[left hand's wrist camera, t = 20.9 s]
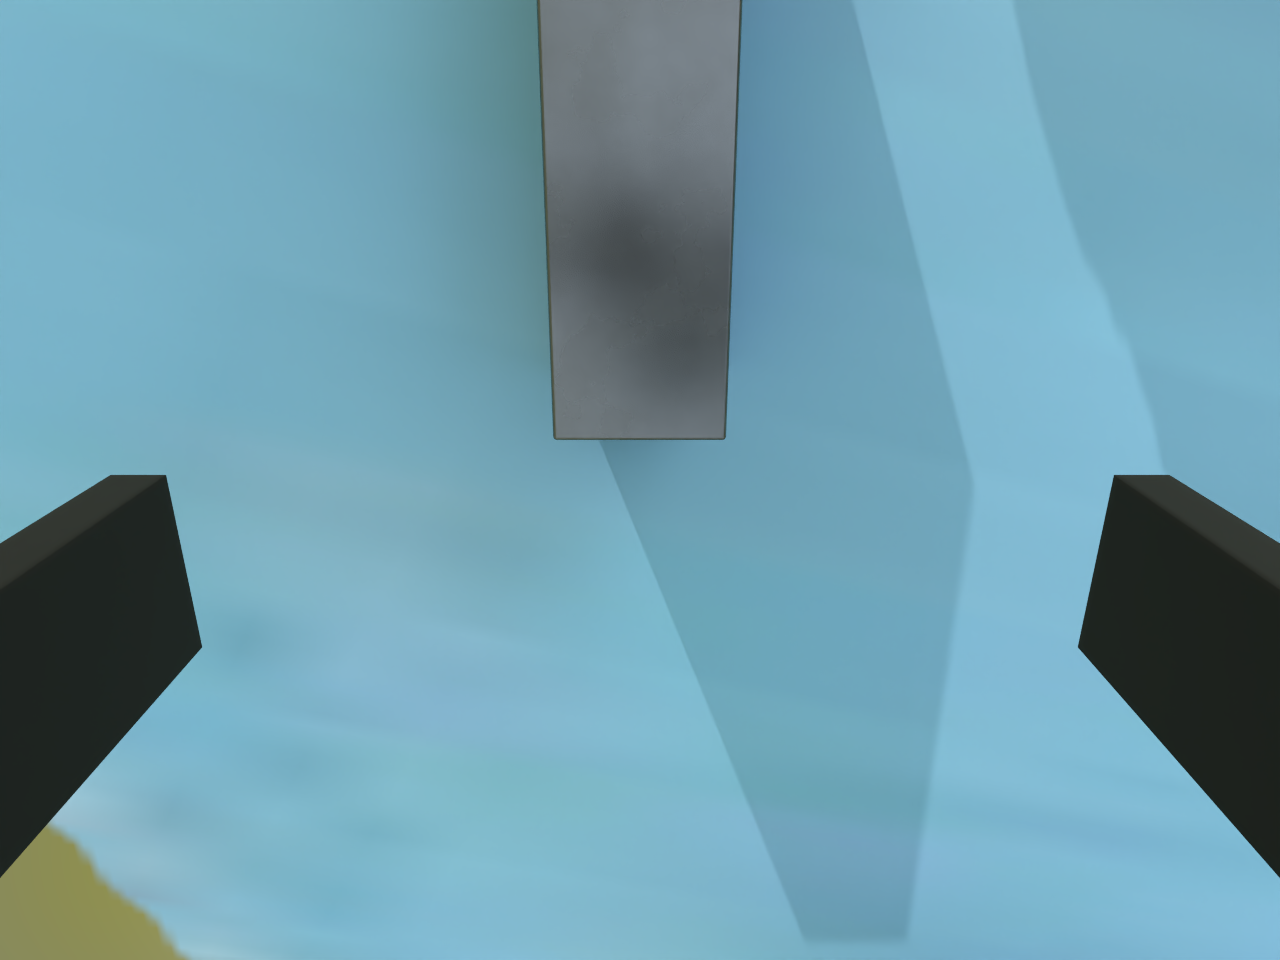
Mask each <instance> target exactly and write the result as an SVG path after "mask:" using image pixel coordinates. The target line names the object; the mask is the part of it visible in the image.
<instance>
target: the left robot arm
mask: <svg viewBox="0 0 1280 960" xmlns="http://www.w3.org/2000/svg"><path fill="white" fill-rule="evenodd" d="M201 648H202V644H201V640H200V635H199V630H198V625H197V620H196V616H195V611H194V606H193V601H192V597H191V592H190V587H189V582H188V578H187V573H186V568H185V563H184V559H183V554H182V549H181V544H180V540H179V535H178V530H177V525H176V521H175V516H174V511H173V506H172V502H171V497H170V492H169V487H168V483H167V478H166V475H110V476H108V477H107V478H105V479H103V480H102V481H100V482H99V483H97V484H95V485H94V486H92V487H91V488H89V489H87V490H86V491H84V492H82V493H81V494H79V495H78V496H76V497H74V498H73V499H71V500H70V501H68V502H66V503H65V504H63V505H62V506H60V507H58V508H57V509H55V510H53V511H52V512H50V513H49V514H47V515H45V516H44V517H42V518H41V519H39V520H37V521H36V522H34V523H32V524H31V525H29V526H28V527H26V528H24V529H23V530H21V531H20V532H18V533H16V534H15V535H13V536H11V537H10V538H8V539H7V540H5V541H3V542H2V543H0V877H1V876H2V875H3V874H4V873H5V872H6V871H7V869H8V868H9V867H10V866H11V865H12V864H13V863H14V861H15V860H16V859H17V858H18V857H19V856H20V855H21V853H22V852H23V851H24V850H25V849H26V848H27V846H28V845H29V844H30V843H31V842H32V841H33V840H34V839H35V837H36V836H37V835H38V834H39V833H40V832H41V831H42V829H43V828H44V827H45V826H46V825H47V824H48V823H49V821H50V820H51V819H52V818H53V817H54V816H55V815H56V813H57V812H58V811H59V810H60V809H61V808H62V807H63V805H64V804H65V803H66V802H67V801H68V800H69V799H70V797H71V796H72V795H73V794H74V793H75V792H76V791H77V789H78V788H79V787H80V786H81V785H82V784H83V783H84V781H85V780H86V779H87V778H88V777H89V776H90V775H91V773H92V772H93V771H94V770H95V769H96V768H97V767H98V765H99V764H100V763H101V762H102V761H103V760H104V759H105V757H106V756H107V755H108V754H109V753H110V752H111V751H112V749H113V748H114V747H115V746H116V745H117V744H118V743H119V741H120V740H121V739H122V738H123V737H124V736H125V735H126V733H127V732H128V731H129V730H130V729H131V728H132V727H133V725H134V724H135V723H136V722H137V721H138V720H139V719H140V717H141V716H142V715H143V714H144V713H145V712H146V711H147V710H148V708H149V707H150V706H151V705H152V704H153V703H154V702H155V700H156V699H157V698H158V697H159V696H160V695H161V694H162V692H163V691H164V690H165V689H166V688H167V687H168V686H169V684H170V683H171V682H172V681H173V680H174V679H175V678H176V676H177V675H178V674H179V673H180V672H181V671H182V670H183V668H184V667H185V666H186V665H187V664H188V663H189V662H190V660H191V659H192V658H193V657H194V656H195V655H196V654H197V652H198V651H199V650H200V649H201ZM1078 648H1079V649H1080V650H1081V651H1082V652H1083V654H1084V655H1085V656H1086V657H1087V658H1088V659H1089V660H1090V662H1091V663H1092V664H1093V665H1094V666H1095V667H1096V668H1097V670H1098V671H1099V672H1100V673H1101V674H1102V675H1103V676H1104V678H1105V679H1106V680H1107V681H1108V682H1109V683H1110V684H1111V686H1112V687H1113V688H1114V689H1115V690H1116V691H1117V692H1118V694H1119V695H1120V696H1121V697H1122V698H1123V699H1124V700H1125V702H1126V703H1127V704H1128V705H1129V706H1130V707H1131V708H1132V710H1133V711H1134V712H1135V713H1136V714H1137V715H1138V716H1139V718H1140V719H1141V720H1142V721H1143V722H1144V723H1145V724H1146V725H1147V727H1148V728H1149V729H1150V730H1151V731H1152V732H1153V733H1154V735H1155V736H1156V737H1157V738H1158V739H1159V740H1160V741H1161V743H1162V744H1163V745H1164V746H1165V747H1166V748H1167V749H1168V751H1169V752H1170V753H1171V754H1172V755H1173V756H1174V757H1175V759H1176V760H1177V761H1178V762H1179V763H1180V764H1181V765H1182V767H1183V768H1184V769H1185V770H1186V771H1187V772H1188V773H1189V775H1190V776H1191V777H1192V778H1193V779H1194V780H1195V781H1196V783H1197V784H1198V785H1199V786H1200V787H1201V788H1202V789H1203V791H1204V792H1205V793H1206V794H1207V795H1208V796H1209V797H1210V799H1211V800H1212V801H1213V802H1214V803H1215V804H1216V805H1217V807H1218V808H1219V809H1220V810H1221V811H1222V812H1223V813H1224V815H1225V816H1226V817H1227V818H1228V819H1229V820H1230V821H1231V823H1232V824H1233V825H1234V826H1235V827H1236V828H1237V829H1238V831H1239V832H1240V833H1241V834H1242V835H1243V836H1244V837H1245V839H1246V840H1247V841H1248V842H1249V843H1250V844H1251V845H1252V847H1253V848H1254V849H1255V850H1256V851H1257V852H1258V853H1259V855H1260V856H1261V857H1262V858H1263V859H1264V860H1265V861H1266V863H1267V864H1268V865H1269V866H1270V867H1271V868H1272V869H1273V871H1274V872H1275V873H1276V874H1277V875H1278V876H1279V877H1280V543H1278V542H1277V541H1275V540H1273V539H1272V538H1270V537H1269V536H1267V535H1265V534H1264V533H1262V532H1260V531H1259V530H1257V529H1256V528H1254V527H1252V526H1251V525H1249V524H1248V523H1246V522H1244V521H1243V520H1241V519H1239V518H1238V517H1236V516H1235V515H1233V514H1231V513H1230V512H1228V511H1227V510H1225V509H1223V508H1222V507H1220V506H1218V505H1217V504H1215V503H1214V502H1212V501H1210V500H1209V499H1207V498H1206V497H1204V496H1202V495H1201V494H1199V493H1198V492H1196V491H1194V490H1193V489H1191V488H1189V487H1188V486H1186V485H1185V484H1183V483H1181V482H1180V481H1178V480H1177V479H1175V478H1173V477H1172V476H1170V475H1114V478H1113V482H1112V487H1111V492H1110V497H1109V502H1108V506H1107V511H1106V516H1105V521H1104V525H1103V530H1102V535H1101V540H1100V544H1099V549H1098V554H1097V559H1096V563H1095V568H1094V573H1093V578H1092V582H1091V587H1090V592H1089V597H1088V601H1087V606H1086V611H1085V616H1084V620H1083V625H1082V630H1081V635H1080V639H1079V644H1078Z"/></svg>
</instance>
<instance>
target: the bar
mask: <svg viewBox="0 0 1280 960" xmlns="http://www.w3.org/2000/svg"><path fill="white" fill-rule="evenodd" d="M537 20H538V46H539V72H540V99H541V125H542V151H543V177H544V204H545V230H546V256H547V282H548V309H549V335H550V361H551V387H552V414H553V437H554V439H556V440H723V439H725V438H726V420H727V393H728V367H729V340H730V314H731V287H732V260H733V234H734V207H735V181H736V154H737V128H738V101H739V75H740V48H741V22H742V0H537Z"/></svg>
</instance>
